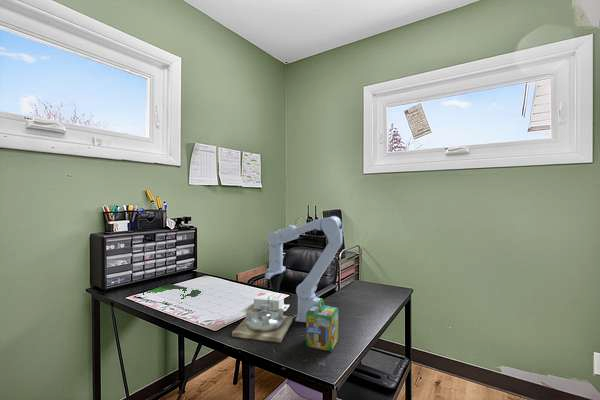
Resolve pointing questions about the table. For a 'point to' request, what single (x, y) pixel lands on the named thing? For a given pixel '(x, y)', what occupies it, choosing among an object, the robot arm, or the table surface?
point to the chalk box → (322, 326)
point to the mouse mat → (171, 286)
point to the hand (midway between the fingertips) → (275, 291)
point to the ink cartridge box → (270, 301)
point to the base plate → (267, 336)
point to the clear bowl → (264, 319)
